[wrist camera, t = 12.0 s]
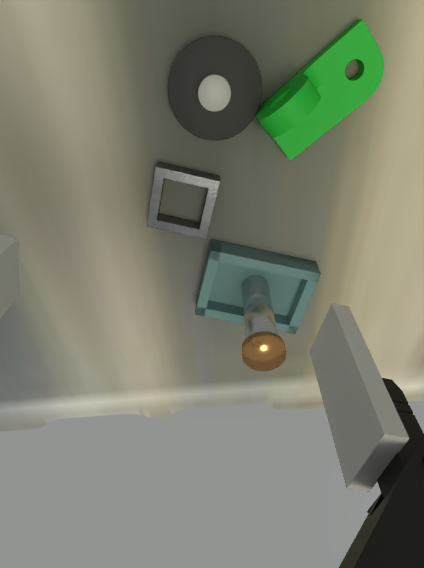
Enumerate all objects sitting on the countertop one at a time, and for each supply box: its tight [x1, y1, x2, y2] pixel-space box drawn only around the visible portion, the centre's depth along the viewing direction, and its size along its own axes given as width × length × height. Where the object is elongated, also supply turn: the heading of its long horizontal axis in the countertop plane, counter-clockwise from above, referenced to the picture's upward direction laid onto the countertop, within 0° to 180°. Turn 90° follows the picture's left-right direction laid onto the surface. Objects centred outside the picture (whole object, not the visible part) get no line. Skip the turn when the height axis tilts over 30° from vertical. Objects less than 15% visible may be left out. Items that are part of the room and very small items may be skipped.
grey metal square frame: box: [147, 162, 220, 239], centre depth 46 cm, size 7×7×2 cm
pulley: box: [168, 36, 262, 141], centre depth 39 cm, size 9×9×4 cm
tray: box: [195, 239, 321, 334], centre depth 51 cm, size 13×9×3 cm
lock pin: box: [242, 275, 286, 371], centre depth 46 cm, size 4×4×13 cm
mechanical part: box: [256, 19, 384, 161], centre depth 37 cm, size 12×6×8 cm, turn 131°
